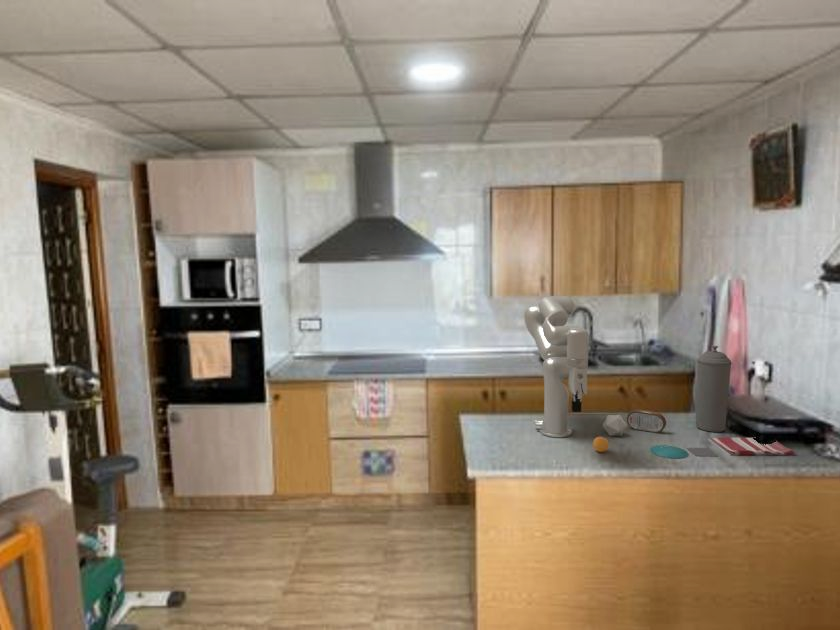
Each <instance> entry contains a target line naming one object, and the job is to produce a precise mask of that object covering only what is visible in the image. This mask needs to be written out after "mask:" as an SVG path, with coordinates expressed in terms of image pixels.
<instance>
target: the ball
mask: <svg viewBox="0 0 840 630" xmlns="http://www.w3.org/2000/svg"><path fill="white" fill-rule="evenodd" d="M592 445H593V448H594V450H596V451H597V452H599V453H604V452H606V451H607V450H608V449H609V447H610V444H609V441H608V439H607V438H606V437H603V436H597V437H595V438H594V439H593V443H592Z"/></svg>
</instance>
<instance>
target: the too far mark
mask: <svg viewBox="0 0 840 630" xmlns="http://www.w3.org/2000/svg"><path fill="white" fill-rule="evenodd" d="M686 450H688V451H689V452H690V453H691V454H693V455H694V456H695V457H719V455H718V454H717V453H715V452H714V451H713V450H712V449H710V448H709V447H686Z"/></svg>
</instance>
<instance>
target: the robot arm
mask: <svg viewBox="0 0 840 630" xmlns="http://www.w3.org/2000/svg"><path fill="white" fill-rule="evenodd" d="M574 312H575V302H574V300H573V299H572V298H571V297H570V296H567V295H562V296H561V295H560V296H559V295H558V296H557V295H555V296H545V297H542V298H541V299H540V300H539V302H538V304H535V305H531V306H528V307H526V309H525V311H524V314H523V315H524V316H523V317H524V318H523V319H524V323H525V326H526V329H527V331H528V332H529V334H530V335H531V337H532V338H533V339H534V341H535V344H536V347H537V350H538V352H539V355H540V356H541V357H540V358H542V359H543V360H544V361H543V360H542V361H543V363H542V375H543V383H544V393H543V394H544V396H543V397H544V398H543V400H544V403H543V404H544V405H543V406H544V407H543V408H544V411H543V419H542V420H539V419H534V420H533V424H534V425H535V427H540V428H539V431H540V433H541V434H542V435H544V436H546V437H549V438H567V437H570V436H571V435H572V432H573V431H572V429H571V428H569V427H568V426H569V391H570V392H571V411H572V412H573V413H581V412H582V398H583V395H582V394H584V396H586V395H588V367H589V337H590V336H589V331H588V329H585V328H583V327H582V326H580V325H567V322H568V320H569V319H570V317H572V316H573V314H574ZM563 381H567V383H568V385H567V386H568V388H567V386H566V385H565V384H564V382H563Z"/></svg>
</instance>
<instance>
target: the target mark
mask: <svg viewBox="0 0 840 630" xmlns="http://www.w3.org/2000/svg"><path fill="white" fill-rule="evenodd" d="M665 446H666V447H665ZM667 446H668V447H667ZM661 447H662V448H661ZM649 449H650V450H649V451H650V452H651V453H652V454H653V453H654V455H655V454H656V455H655V456H658V455H659V456H658V457H661V456H662V458H665V457H667V459H672V458H674V459H678V460H679V459H685V458H687V457H689V452H688V451H687V450H685V449H683V448H681V447H678V446H673V445H665V444H661V445H660V444H659V445H654V446H651V447H650V448H649Z"/></svg>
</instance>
